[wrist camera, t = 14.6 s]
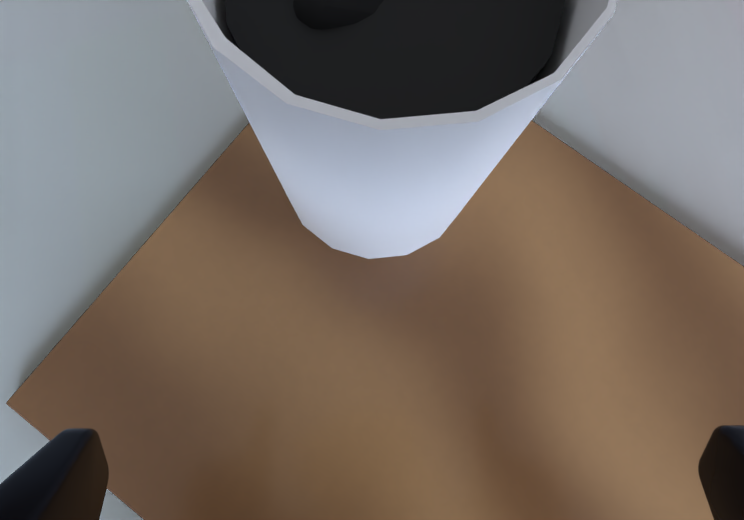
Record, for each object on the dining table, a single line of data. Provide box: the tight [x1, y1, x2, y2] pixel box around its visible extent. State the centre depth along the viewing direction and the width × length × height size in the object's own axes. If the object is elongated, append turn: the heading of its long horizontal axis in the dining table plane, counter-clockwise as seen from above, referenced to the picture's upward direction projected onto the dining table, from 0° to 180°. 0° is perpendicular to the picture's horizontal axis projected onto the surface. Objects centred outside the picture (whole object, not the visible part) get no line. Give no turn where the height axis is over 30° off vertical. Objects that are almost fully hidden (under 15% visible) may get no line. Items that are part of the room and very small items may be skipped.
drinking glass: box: [186, 0, 618, 259], centre depth 13 cm, size 7×7×10 cm
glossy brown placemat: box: [6, 120, 744, 520], centre depth 17 cm, size 16×20×1 cm
